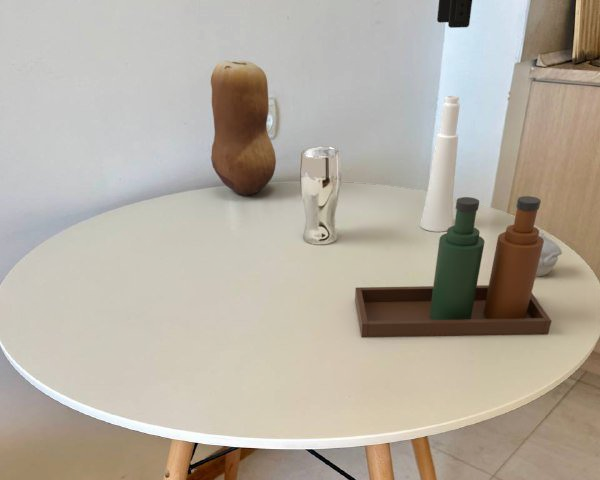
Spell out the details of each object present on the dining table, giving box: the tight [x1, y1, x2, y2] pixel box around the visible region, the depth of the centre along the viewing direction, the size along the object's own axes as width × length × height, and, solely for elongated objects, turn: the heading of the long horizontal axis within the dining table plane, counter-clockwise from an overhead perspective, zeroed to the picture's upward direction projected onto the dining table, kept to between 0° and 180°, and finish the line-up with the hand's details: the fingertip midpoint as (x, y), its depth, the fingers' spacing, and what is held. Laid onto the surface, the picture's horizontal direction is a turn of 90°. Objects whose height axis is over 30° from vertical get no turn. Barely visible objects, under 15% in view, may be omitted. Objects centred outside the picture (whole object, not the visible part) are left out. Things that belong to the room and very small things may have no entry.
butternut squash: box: [210, 60, 277, 197], centre depth 122 cm, size 14×13×25 cm
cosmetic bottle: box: [419, 95, 461, 233], centre depth 105 cm, size 6×6×22 cm
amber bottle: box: [483, 195, 544, 319], centre depth 77 cm, size 6×6×16 cm
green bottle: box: [430, 196, 486, 320], centre depth 77 cm, size 6×6×16 cm
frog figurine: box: [536, 231, 563, 277], centre depth 91 cm, size 6×7×7 cm
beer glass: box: [299, 146, 342, 246], centre depth 103 cm, size 7×7×15 cm
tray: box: [354, 284, 552, 339], centre depth 82 cm, size 25×11×3 cm, turn 90°
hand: (452, 24), depth 97 cm, fingers open, 9 cm apart
